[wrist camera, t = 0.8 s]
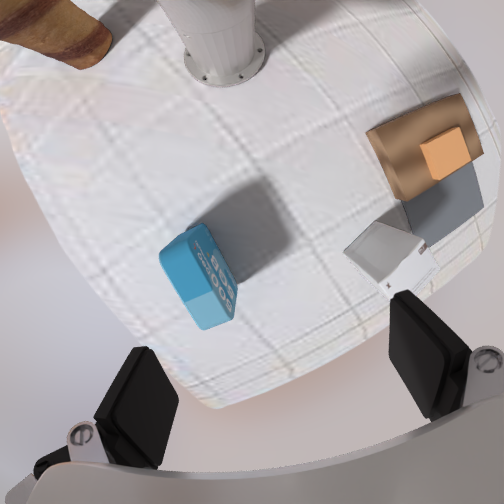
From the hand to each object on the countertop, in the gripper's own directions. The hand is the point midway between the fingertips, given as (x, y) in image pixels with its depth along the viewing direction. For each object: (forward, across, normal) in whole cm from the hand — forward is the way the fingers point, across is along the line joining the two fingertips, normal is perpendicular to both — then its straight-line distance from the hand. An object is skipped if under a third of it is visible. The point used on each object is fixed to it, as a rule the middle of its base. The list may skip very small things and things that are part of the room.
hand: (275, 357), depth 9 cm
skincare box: (+34, -17, +9) cm, 39 cm away
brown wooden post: (+34, +23, -40) cm, 57 cm away
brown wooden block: (+34, -32, -6) cm, 47 cm away
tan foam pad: (+29, -32, -5) cm, 44 cm away
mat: (+33, -35, +5) cm, 49 cm away
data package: (+34, +10, +6) cm, 35 cm away
